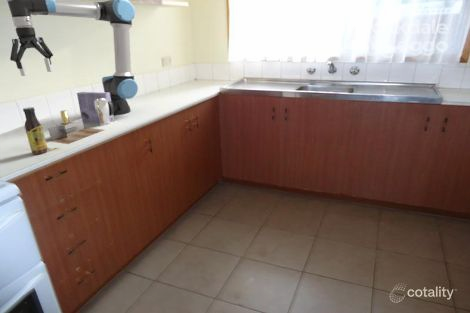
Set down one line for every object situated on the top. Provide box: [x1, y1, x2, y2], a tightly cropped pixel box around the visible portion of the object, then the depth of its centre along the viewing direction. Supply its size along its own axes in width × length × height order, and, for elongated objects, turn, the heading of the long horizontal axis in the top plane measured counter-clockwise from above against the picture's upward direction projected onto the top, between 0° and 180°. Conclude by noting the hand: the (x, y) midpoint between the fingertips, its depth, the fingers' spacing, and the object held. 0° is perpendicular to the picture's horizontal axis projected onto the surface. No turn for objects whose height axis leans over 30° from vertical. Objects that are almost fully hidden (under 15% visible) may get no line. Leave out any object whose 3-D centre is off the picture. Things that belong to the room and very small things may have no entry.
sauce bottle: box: [22, 106, 49, 155], centre depth 139 cm, size 7×6×20 cm
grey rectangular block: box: [47, 125, 77, 140], centre depth 156 cm, size 12×6×6 cm, turn 155°
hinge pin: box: [59, 109, 69, 125], centre depth 158 cm, size 3×3×12 cm
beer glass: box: [94, 98, 112, 126], centre depth 174 cm, size 7×7×15 cm
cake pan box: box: [76, 91, 115, 124], centre depth 181 cm, size 19×5×18 cm, turn 77°
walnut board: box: [45, 127, 105, 145], centre depth 160 cm, size 22×16×2 cm
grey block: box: [55, 118, 85, 138], centre depth 161 cm, size 12×6×6 cm, turn 155°
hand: (37, 73), depth 158 cm, fingers open, 13 cm apart
